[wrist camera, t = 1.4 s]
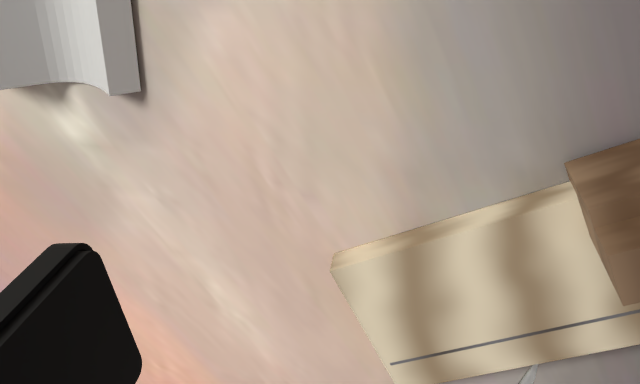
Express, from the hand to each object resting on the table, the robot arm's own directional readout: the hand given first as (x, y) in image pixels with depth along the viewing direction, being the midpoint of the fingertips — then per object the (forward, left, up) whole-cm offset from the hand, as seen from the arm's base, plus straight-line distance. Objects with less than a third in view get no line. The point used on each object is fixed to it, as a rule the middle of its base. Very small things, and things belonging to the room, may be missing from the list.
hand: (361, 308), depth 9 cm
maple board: (-2, +19, -23) cm, 30 cm away
